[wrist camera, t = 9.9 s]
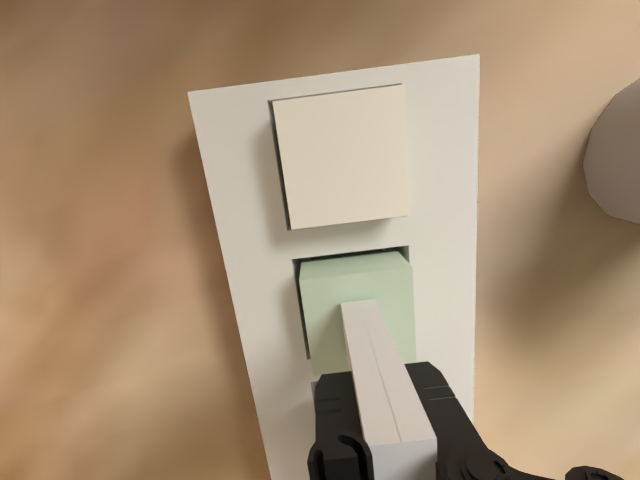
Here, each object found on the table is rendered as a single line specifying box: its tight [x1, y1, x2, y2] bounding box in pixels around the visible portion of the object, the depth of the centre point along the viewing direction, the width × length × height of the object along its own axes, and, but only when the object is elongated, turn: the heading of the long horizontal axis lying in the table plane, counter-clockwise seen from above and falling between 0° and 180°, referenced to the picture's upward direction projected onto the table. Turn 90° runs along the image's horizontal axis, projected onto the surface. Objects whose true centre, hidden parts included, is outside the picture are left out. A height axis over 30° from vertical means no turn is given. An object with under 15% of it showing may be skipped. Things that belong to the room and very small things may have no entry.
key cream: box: [272, 84, 410, 230], centre depth 13 cm, size 5×5×4 cm
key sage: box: [299, 249, 417, 376], centre depth 15 cm, size 5×5×4 cm
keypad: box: [187, 54, 480, 480], centre depth 17 cm, size 28×12×4 cm, turn 7°
